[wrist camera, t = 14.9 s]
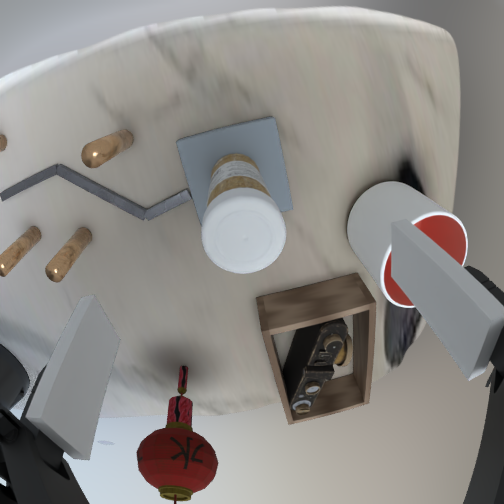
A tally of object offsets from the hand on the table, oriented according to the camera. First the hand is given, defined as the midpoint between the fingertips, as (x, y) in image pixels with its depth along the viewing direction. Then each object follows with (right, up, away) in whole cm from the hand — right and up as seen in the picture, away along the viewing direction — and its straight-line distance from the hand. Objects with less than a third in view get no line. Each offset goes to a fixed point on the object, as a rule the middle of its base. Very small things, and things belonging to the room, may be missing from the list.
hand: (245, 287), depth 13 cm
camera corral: (+9, -11, +29) cm, 33 cm away
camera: (+9, -10, +29) cm, 32 cm away
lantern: (-9, -15, +30) cm, 35 cm away
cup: (+15, +5, +21) cm, 27 cm away
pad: (-1, +9, +17) cm, 20 cm away
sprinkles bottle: (-1, +8, +16) cm, 18 cm away
